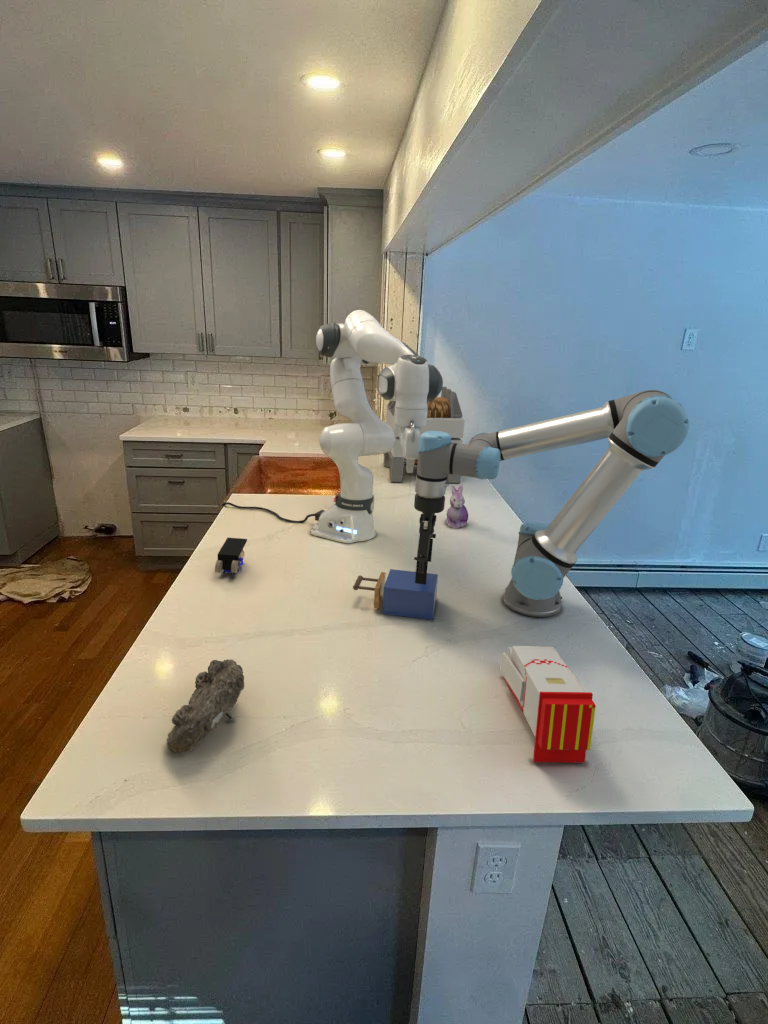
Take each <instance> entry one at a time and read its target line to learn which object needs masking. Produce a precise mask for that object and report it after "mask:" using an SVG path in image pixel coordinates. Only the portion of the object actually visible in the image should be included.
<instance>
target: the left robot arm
mask: <svg viewBox="0 0 768 1024" xmlns="http://www.w3.org/2000/svg"><path fill="white" fill-rule="evenodd" d="M315 344H316V350H317V351H318V353H319V355H321V356H323V357H326V358H333V359H332V360H331V362H330V365H329V381H330V390H331V393H332V400H333V404H334V405H333V406H334V409H335V411H336V412H337V414H338V415H340V416H341V417H343V418H345V419H347V420H348V421H350V422H348V423H346V422H345V423H335V424H331V425H327V426H324V428H322V430H321V432H320V435H319V446H320V449H321V450H322V452H323V454H325V455H326V456H327V457H328V458H330V459H331V460H332V462H334V464H335V465H336V467H337V470H338V473H339V483H340V484H339V485H340V488H339V489H340V490H339V491H338V492H337V494H336V495H335V496H334V497H333V502H334V504H333V505H331V506H329V507H328V508H326V509H321V510H318V511H317V512H315V513H310V514H307V515H306V516H305V517H304V519H302V520H292V519H288V518H284V517H282V516H280V515H279V514H278V513H277V512H275V511H274V510H271V509H269V508H266V507H262V506H242V505H241V506H240V505H237V504H234V503H232V502H229V501H228V502H227V501H226V502H223V503H222V504H221V506H222V507H225V506H226V505H228V506H231V507H233V508H235V509H241V510H259V511H265V512H269V513H270V514H273V515H275V516H276V518H278V519H279V520H281V521H283V522H287V523H293V524H303V523H306V522H307V521H308V519H309V518H311V517H314V521H316V522H317V523H315V524H314V525H313V526H312V528H311V530H310V533H311V536H315V537H319V538H323V539H326V540H330V541H336V542H339V543H343V544H352V543H357V542H365V541H368V540H372V539H373V538H375V537H376V535H377V532H376V528H375V523H374V513H373V512H374V509H375V496H374V474H373V472H372V471H371V469H369V468H368V467H366V466H364V465H362V464H359V457H368V456H369V457H370V456H379V455H384V453H387V452H390V451H391V450H392V448H393V447H394V444H395V433H394V430H393V429H392V427H391V426H390V425H389V424H387V423H386V421H383V420H382V419H381V418H380V417H379V416H378V415H377V414H376V413H375V412H374V410H373V408H372V407H371V405H370V403H369V400H368V396H367V393H366V389H365V388H366V387H365V383H364V380H363V379H364V378H363V376H362V372H361V364H362V363H363V364H364V365H368V364H369V363H373V364H383V365H389V366H384V368H382V369H381V370H380V372H379V373H378V375H377V385H376V386H377V392H378V394H379V395H380V396H381V398H383V399H384V400H385V401H396V403H395V413H394V424H395V425H398V426H399V427H398V430H399V438H400V444H401V447H402V450H403V462H404V464H407V465H405V466H406V467H405V470H406V473H407V474H413V473H414V467H415V466H414V462H415V460H417V459H418V450H419V443H420V432H421V431H422V427H423V426H426V425H427V411H428V405H427V401H428V402H431V401H433V400H434V399H435V398H436V397H439V395H441V392H442V387H444V381H443V376H442V374H441V372H440V370H439V369H438V368H437V367H436V366H435V365H433V364H430V363H429V362H428V359H426V358H425V357H424V356H421V355H419V354H418V353H417V352H416V351H415V350H414V349H412V348H411V347H410V346H409V345H408V344H407V343H406V342H404V341H403V340H400V339H399V338H397V337H395V336H394V335H393V334H391V333H390V332H388V330H386V328H384V327H383V326H382V325H381V323H380V322H379V321H378V320H377V319H376V317H374V316H373V315H372V314H370V313H369V312H368V311H366V310H362V309H356V310H353V311H351V312H350V313H349V314H348V315H347V316H346V317H345V320H344V323H336V322H330V323H325V324H322V325H320V327H319V328H318V329H317V332H316V336H315Z"/></svg>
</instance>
